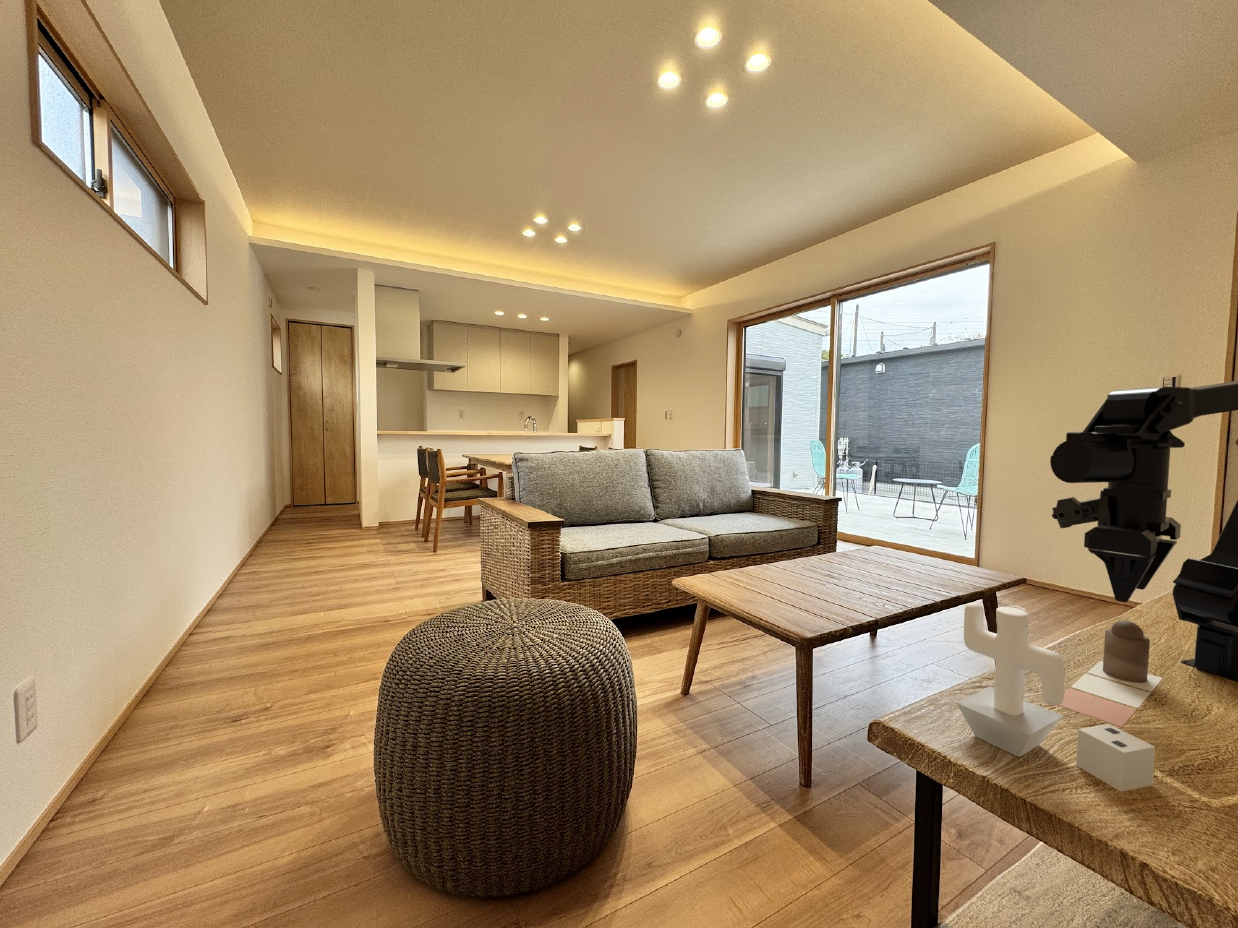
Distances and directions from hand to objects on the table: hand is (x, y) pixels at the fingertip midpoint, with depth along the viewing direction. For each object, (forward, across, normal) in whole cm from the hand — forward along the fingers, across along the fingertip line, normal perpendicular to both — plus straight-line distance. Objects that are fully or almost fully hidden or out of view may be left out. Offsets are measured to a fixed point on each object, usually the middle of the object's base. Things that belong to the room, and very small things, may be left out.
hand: (1130, 594), depth 71 cm
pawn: (+11, 0, 0) cm, 11 cm away
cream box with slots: (+12, +28, +5) cm, 31 cm away
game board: (+12, +7, 0) cm, 14 cm away
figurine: (+12, +30, -4) cm, 33 cm away
